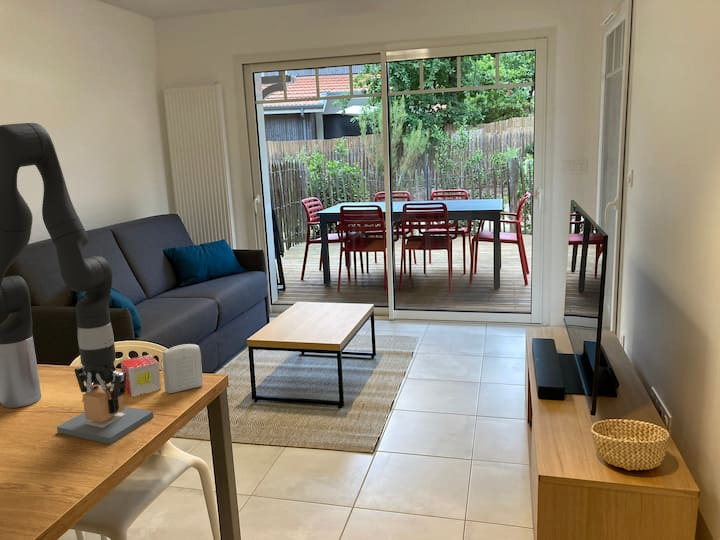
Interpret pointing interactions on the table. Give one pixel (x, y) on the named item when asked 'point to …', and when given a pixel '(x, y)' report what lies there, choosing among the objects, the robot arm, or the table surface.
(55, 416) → the table surface
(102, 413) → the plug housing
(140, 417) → the board
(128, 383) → the red and white cube
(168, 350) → the photo printer
